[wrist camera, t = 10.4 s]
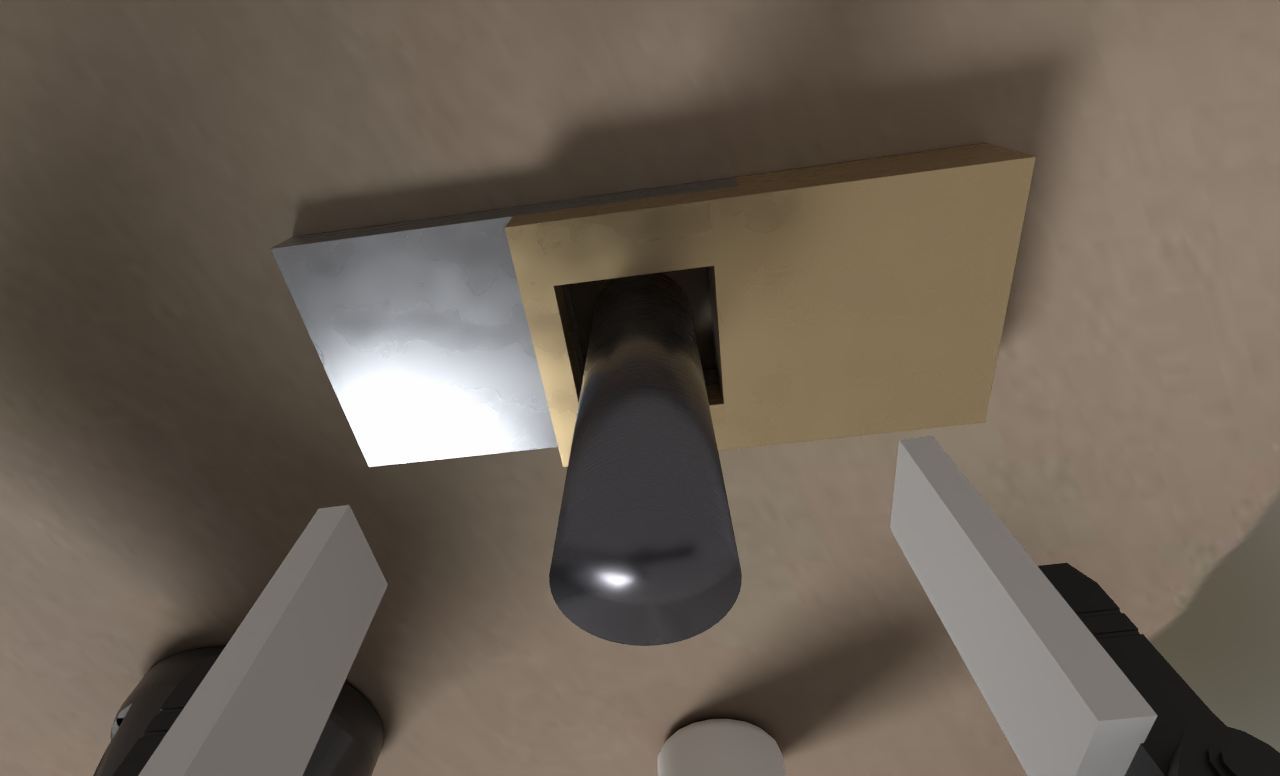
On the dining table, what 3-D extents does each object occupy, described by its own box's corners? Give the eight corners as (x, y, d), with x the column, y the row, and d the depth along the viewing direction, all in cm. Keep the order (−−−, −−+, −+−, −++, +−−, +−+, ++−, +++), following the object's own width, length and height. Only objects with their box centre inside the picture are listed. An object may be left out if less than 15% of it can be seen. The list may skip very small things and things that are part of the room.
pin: (602, 365, 26) (569, 652, 13) (586, 277, 24) (530, 521, 12) (694, 354, 25) (745, 637, 13) (686, 264, 23) (736, 500, 11)
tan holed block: (381, 447, 28) (355, 488, 25) (291, 237, 23) (246, 262, 20) (950, 384, 26) (985, 422, 23) (987, 143, 21) (1036, 156, 19)
